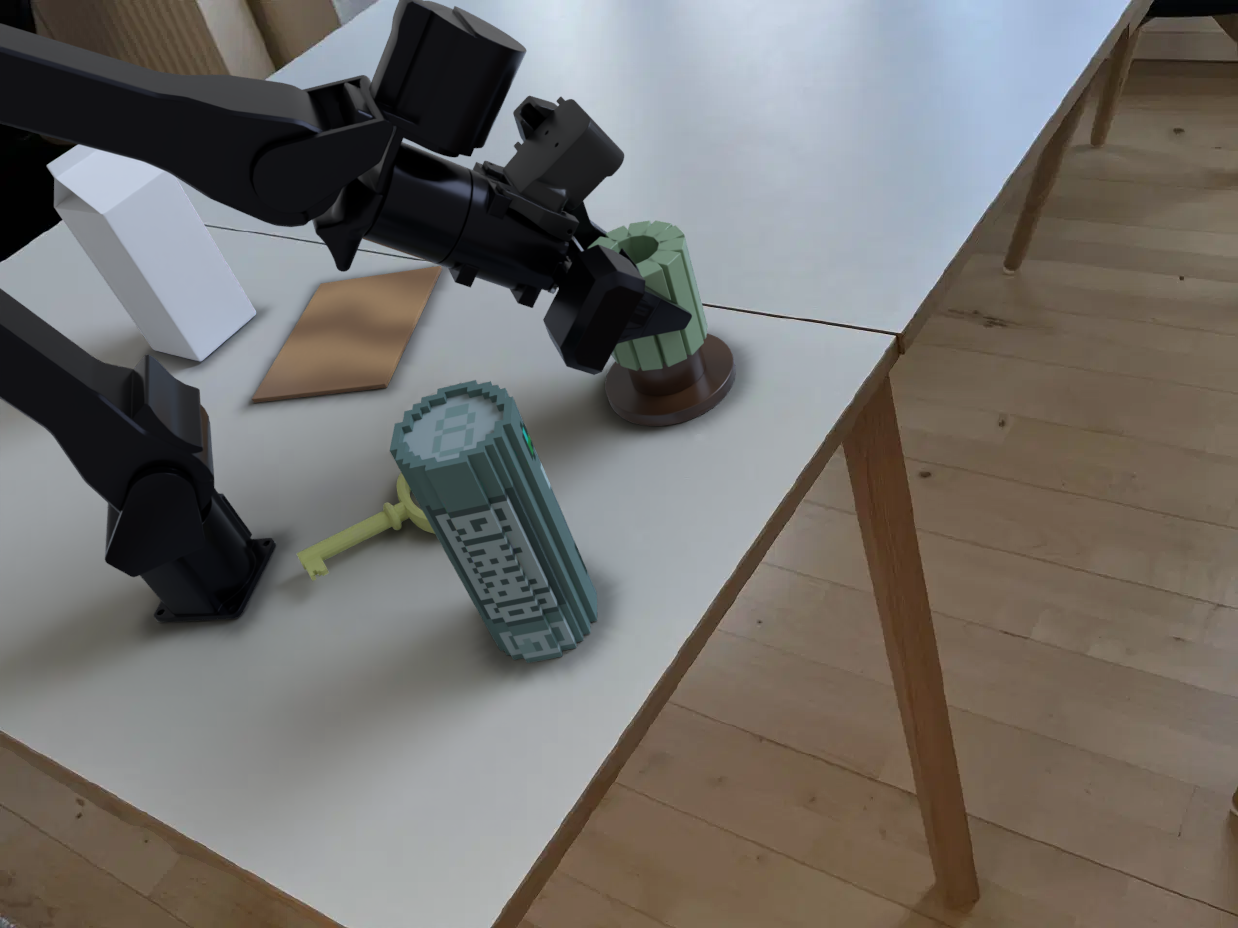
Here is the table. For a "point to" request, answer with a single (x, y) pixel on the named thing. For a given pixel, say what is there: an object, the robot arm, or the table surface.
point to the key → (364, 530)
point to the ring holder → (673, 386)
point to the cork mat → (349, 336)
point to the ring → (660, 291)
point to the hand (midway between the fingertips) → (667, 296)
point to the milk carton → (150, 250)
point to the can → (497, 518)
